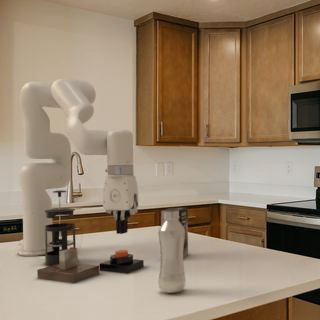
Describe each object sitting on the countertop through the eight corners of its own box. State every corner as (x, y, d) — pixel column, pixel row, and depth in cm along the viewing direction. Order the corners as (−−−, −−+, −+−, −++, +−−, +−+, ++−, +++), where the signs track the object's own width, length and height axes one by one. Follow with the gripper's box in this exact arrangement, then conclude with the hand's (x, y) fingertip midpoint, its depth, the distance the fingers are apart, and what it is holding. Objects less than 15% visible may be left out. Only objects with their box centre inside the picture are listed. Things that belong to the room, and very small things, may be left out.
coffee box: (180, 260, 145) (179, 210, 144) (161, 260, 146) (160, 210, 146) (189, 254, 154) (188, 207, 153) (171, 254, 155) (170, 206, 155)
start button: (112, 257, 134) (112, 252, 134) (120, 255, 137) (120, 249, 137) (122, 258, 133) (122, 252, 133) (130, 256, 136) (130, 250, 136)
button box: (99, 270, 133) (99, 257, 133) (116, 264, 141) (116, 251, 141) (127, 274, 129) (127, 260, 129) (143, 267, 137) (143, 254, 137)
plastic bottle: (159, 288, 115) (158, 209, 115) (186, 287, 115) (185, 209, 115) (157, 296, 108) (156, 213, 108) (185, 295, 109) (184, 212, 109)
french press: (81, 263, 143) (79, 190, 142) (49, 268, 137) (48, 192, 137) (69, 257, 152) (68, 188, 152) (40, 261, 146) (38, 190, 146)
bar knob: (64, 269, 125) (64, 250, 125) (59, 269, 126) (59, 250, 126) (77, 265, 129) (77, 247, 129) (72, 265, 130) (72, 247, 130)
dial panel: (37, 278, 125) (37, 269, 125) (64, 270, 135) (64, 261, 135) (73, 283, 120) (73, 273, 120) (99, 274, 130) (99, 264, 130)
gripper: (92, 172, 134) (93, 234, 134) (133, 171, 128) (135, 236, 128) (108, 171, 141) (110, 230, 141) (149, 170, 135) (150, 232, 135)
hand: (122, 232), depth 135 cm, fingers closed
